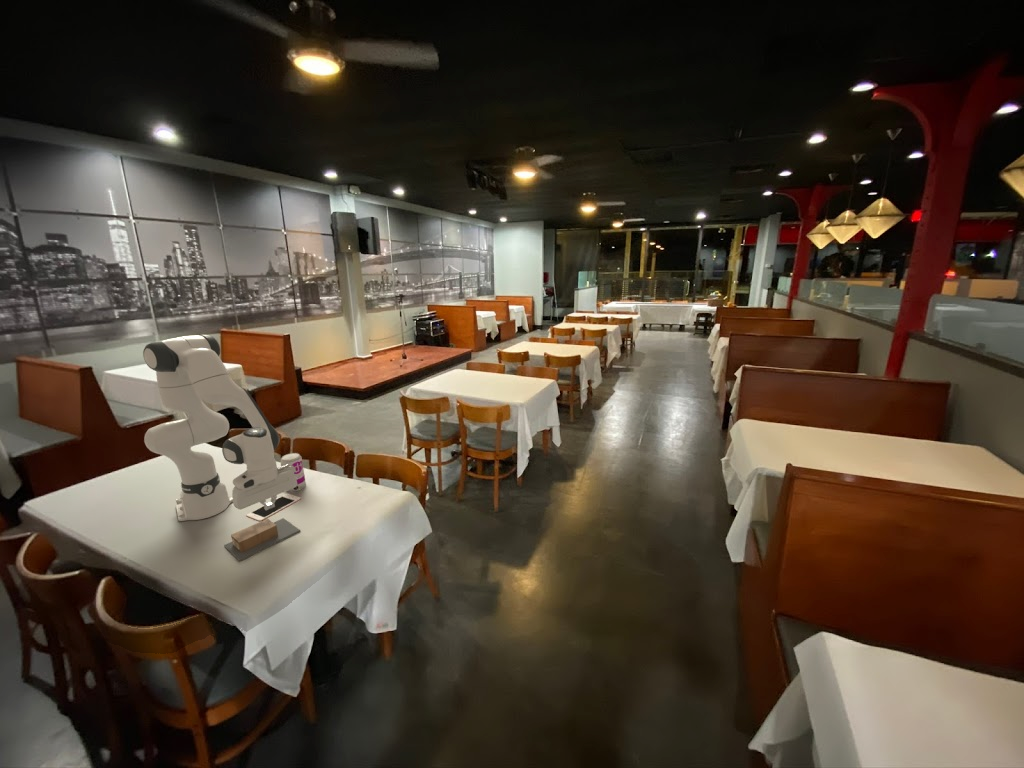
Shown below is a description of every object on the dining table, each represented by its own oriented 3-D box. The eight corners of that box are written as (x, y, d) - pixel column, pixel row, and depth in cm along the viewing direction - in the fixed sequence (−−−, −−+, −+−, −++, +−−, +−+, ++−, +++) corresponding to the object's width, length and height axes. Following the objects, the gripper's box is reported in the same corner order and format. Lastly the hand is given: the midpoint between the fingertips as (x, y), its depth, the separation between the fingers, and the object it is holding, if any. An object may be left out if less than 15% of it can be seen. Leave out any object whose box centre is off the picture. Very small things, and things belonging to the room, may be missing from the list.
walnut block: (269, 528, 152) (232, 545, 143) (267, 518, 151) (230, 535, 142) (278, 534, 148) (240, 553, 139) (276, 525, 147) (238, 542, 138)
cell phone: (301, 499, 173) (301, 497, 173) (260, 522, 157) (260, 520, 157) (287, 495, 177) (287, 493, 177) (245, 517, 161) (245, 514, 161)
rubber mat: (224, 546, 143) (224, 545, 143) (283, 519, 158) (283, 518, 158) (239, 561, 136) (239, 559, 135) (300, 531, 151) (300, 530, 151)
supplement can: (309, 485, 184) (305, 454, 180) (292, 494, 177) (286, 462, 173) (299, 481, 188) (294, 451, 184) (281, 489, 181) (275, 457, 177)
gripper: (289, 460, 154) (294, 493, 158) (227, 482, 138) (234, 518, 142) (297, 464, 150) (302, 498, 154) (234, 487, 135) (242, 524, 138)
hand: (269, 508), depth 148 cm, fingers closed
